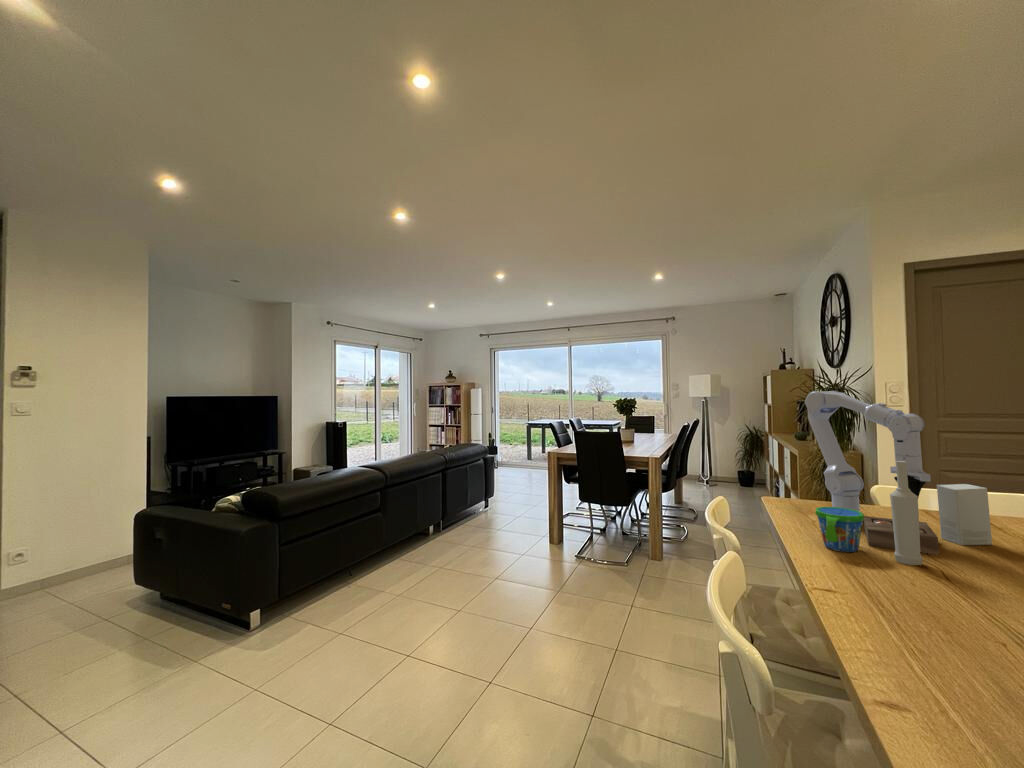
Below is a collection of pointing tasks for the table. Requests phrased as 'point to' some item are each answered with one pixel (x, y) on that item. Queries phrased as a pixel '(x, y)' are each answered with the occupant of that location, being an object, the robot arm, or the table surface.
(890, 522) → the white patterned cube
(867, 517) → the walnut block
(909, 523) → the bottle
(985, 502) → the skincare box
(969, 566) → the table surface
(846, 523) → the snack cup
